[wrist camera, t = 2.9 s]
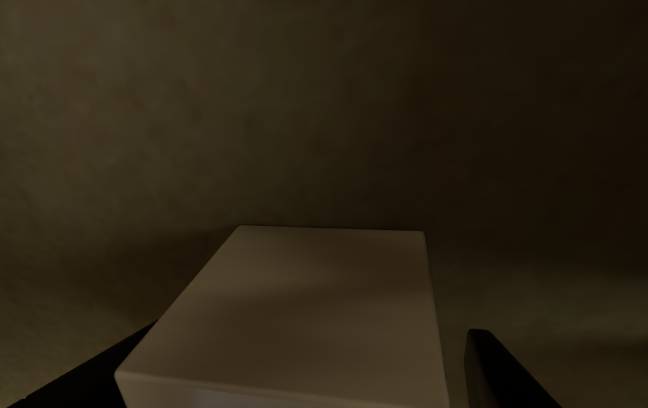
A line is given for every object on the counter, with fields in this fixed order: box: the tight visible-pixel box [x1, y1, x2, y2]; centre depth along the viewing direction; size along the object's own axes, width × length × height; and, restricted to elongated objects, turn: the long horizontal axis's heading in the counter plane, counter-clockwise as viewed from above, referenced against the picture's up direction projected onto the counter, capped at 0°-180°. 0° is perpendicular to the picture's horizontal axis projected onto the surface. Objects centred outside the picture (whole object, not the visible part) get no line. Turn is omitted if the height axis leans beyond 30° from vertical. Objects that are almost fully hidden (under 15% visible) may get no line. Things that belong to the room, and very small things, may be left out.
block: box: [114, 225, 450, 408], centre depth 7 cm, size 4×4×4 cm
